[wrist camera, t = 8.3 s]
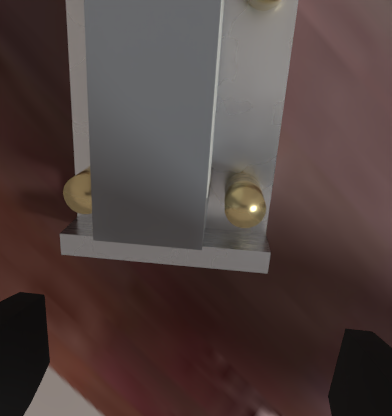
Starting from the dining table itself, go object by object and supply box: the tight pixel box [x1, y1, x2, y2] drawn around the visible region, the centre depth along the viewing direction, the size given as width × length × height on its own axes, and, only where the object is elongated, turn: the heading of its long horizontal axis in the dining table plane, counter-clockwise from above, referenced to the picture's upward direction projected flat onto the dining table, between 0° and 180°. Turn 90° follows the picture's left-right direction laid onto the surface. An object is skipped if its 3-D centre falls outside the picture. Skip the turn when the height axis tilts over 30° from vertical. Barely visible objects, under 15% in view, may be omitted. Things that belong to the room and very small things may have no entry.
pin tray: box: [60, 0, 298, 274], centre depth 15 cm, size 9×14×4 cm, turn 176°
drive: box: [84, 0, 225, 250], centre depth 13 cm, size 4×9×6 cm, turn 177°
